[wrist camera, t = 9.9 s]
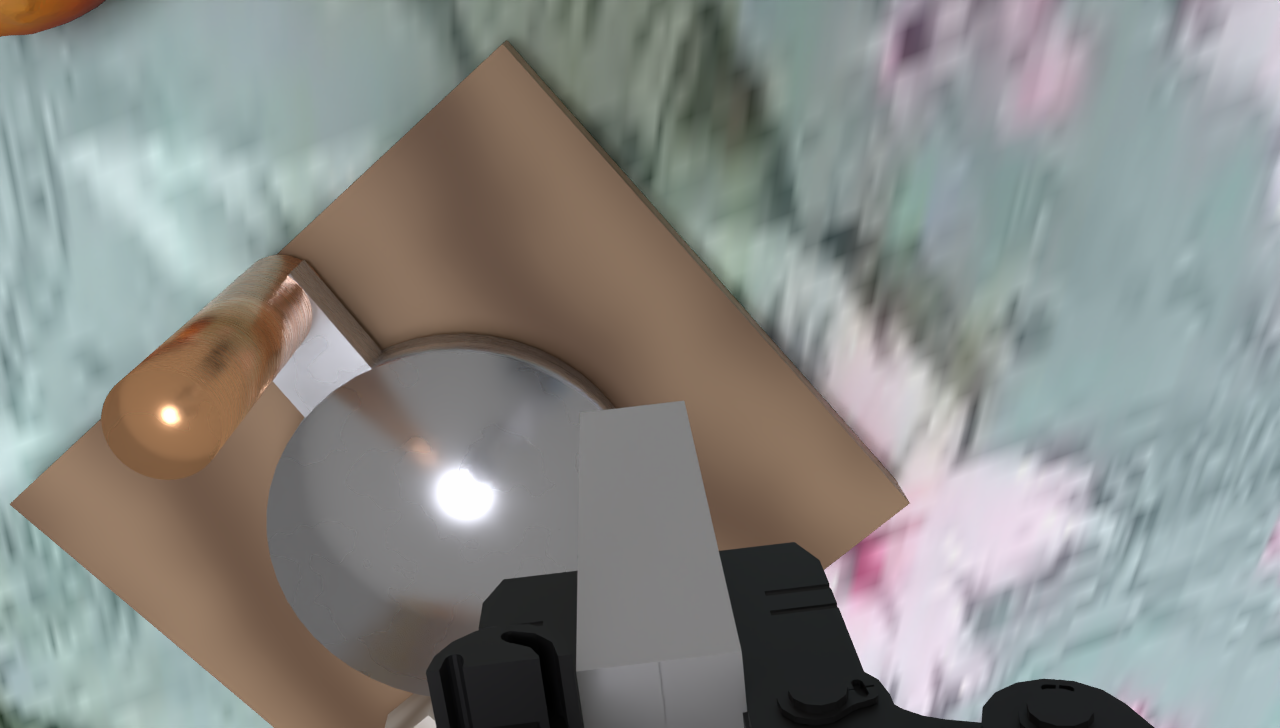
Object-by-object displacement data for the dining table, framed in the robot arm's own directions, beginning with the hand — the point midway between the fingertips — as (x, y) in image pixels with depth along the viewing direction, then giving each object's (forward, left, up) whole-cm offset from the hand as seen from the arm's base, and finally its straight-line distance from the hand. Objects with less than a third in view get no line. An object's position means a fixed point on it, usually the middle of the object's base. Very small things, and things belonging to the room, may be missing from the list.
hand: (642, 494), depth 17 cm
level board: (+10, +4, -22) cm, 25 cm away
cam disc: (+10, +2, -20) cm, 22 cm away
